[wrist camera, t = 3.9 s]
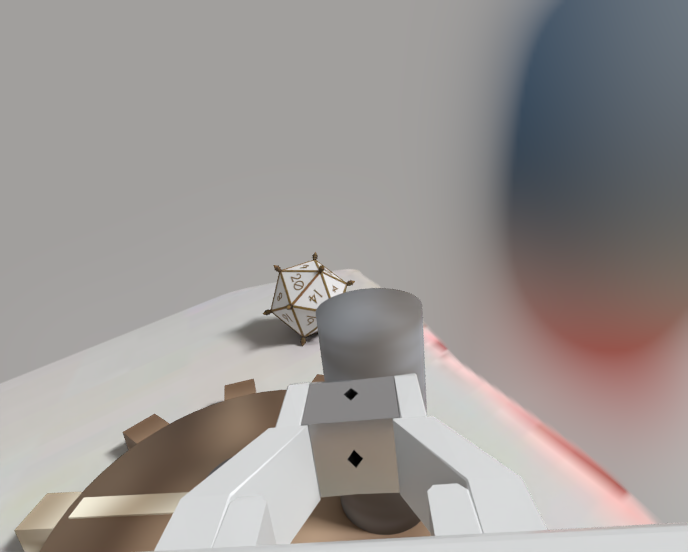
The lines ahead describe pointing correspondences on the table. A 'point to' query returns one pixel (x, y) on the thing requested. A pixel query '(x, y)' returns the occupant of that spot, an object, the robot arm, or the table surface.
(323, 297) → the game die
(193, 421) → the sprocket
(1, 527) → the table surface
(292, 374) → the table surface
